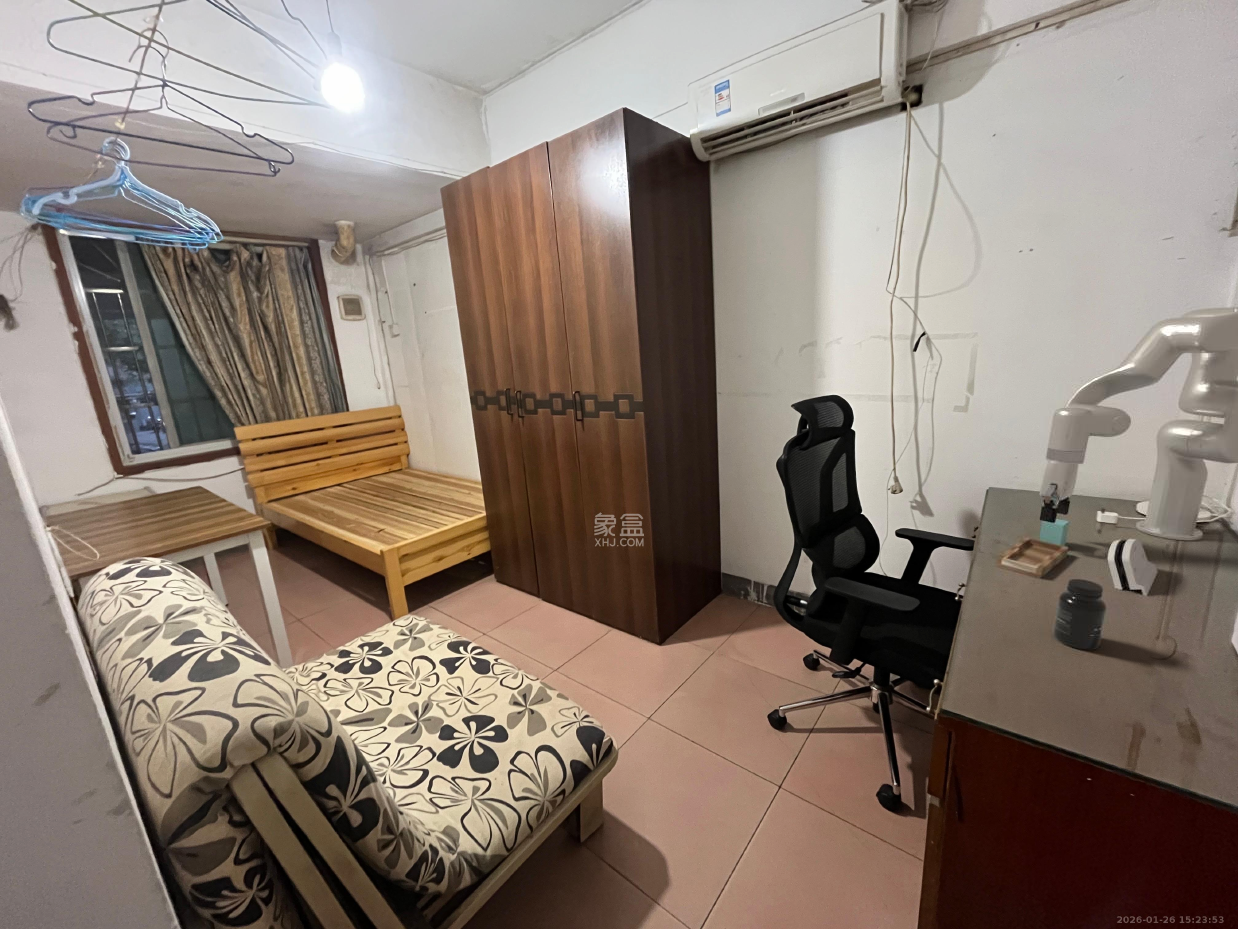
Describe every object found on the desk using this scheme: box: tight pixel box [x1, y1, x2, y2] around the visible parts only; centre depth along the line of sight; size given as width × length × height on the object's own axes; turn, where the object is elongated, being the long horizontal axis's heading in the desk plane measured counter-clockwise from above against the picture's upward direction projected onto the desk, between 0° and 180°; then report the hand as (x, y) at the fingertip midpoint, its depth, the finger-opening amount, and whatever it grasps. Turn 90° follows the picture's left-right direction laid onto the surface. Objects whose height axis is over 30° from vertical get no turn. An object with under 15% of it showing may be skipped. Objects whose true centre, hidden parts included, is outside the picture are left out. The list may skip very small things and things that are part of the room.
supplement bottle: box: [1052, 578, 1108, 651], centre depth 96 cm, size 7×7×12 cm
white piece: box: [1107, 538, 1158, 597], centre depth 117 cm, size 17×5×10 cm, turn 128°
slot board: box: [995, 537, 1069, 579], centre depth 129 cm, size 19×9×2 cm, turn 125°
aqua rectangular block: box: [1038, 518, 1070, 547], centre depth 136 cm, size 4×4×7 cm
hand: (1053, 517), depth 135 cm, fingers open, 9 cm apart
